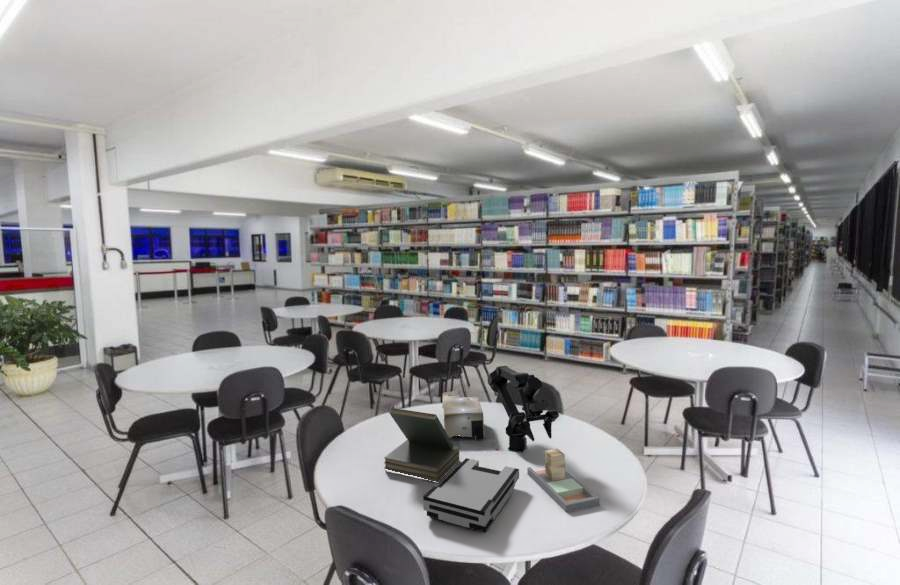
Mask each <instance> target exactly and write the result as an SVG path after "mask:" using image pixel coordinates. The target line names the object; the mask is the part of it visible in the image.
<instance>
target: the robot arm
mask: <svg viewBox="0 0 900 585" xmlns="http://www.w3.org/2000/svg"><path fill="white" fill-rule="evenodd" d="M508 381H509V382H510V385H511V386H512V388H514V389H519V390H518V392H517V395H516V397H517V398H519V399H520V403H521V406H522V407H521V410H522V411H521V412H520V411H519V410H518V407H517V405H516V403H515V401H514V400H513V397H512V395H511V393H510V391H509V390H508V383H509V382H508ZM487 384H488V386H489V387H490V389H491V391H493V392H495V393H497V395H498V397H499V399H500V402H501V404H502V406H503V408H504V410H505V413H506V414H507V416H508V417H507V418H508V422H507V426H506V427H505V434H506V435H507V436H508V439H509V440H508V444H509V445H508V447H507V450H508V451H512V452H517V453H523V452H525V450H526V449H527V447H528V445H527V443H528V440H527V438H526V436H527V437H528V438H529V439H530V440H531V442H535V436H534V433H533V431H532V429H531V424H530V423H532V422H536V421H537V422H538V421H543V423H542V425H543V428H544V430H545V433H546V435H547V437H548V439H550V440H551V439H552V425H553V423H554V422H555V421H556V420H558V418H559V416H560V413H559V411H558V410H557V409H551V410H547V409H548V408H550V402H549V400H548V398H546V399H541V401H539V400H536V397H535V396H536V395H537V394H539V392H540V389H542V387H543V382H542V380H540V379H539V378H538V377H536V376H535V374H529V373H527V372H517V371H515V370H514V369H512V368H510V367H509V366H508V365H500V366H497V367H495V369H494V370H493V371H492V372H490V373H489V375H488V377H487ZM523 411H524V412H523ZM544 411H546V412H545V413H544ZM543 413H544V414H543Z"/></svg>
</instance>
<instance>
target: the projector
mask: <svg viewBox="0 0 900 585" xmlns="http://www.w3.org/2000/svg"><path fill="white" fill-rule="evenodd" d="M441 396H442V400H441V401H442V409H443V424H444V425H443V428H444V429H445V431H446V433H447V435H448V436H449V438H450V439H451V438H454V436H455V435H457V436H455V437H458V435H460V436H459V437H461V438H465V437H468V438H470V437H471V439H472V437H473V438H475V439H476V440H475V441H481V440H484V439H485V438H486V437H485V426H484V424H485V422H484V420H485V418H484V411H483V409H482V405H481V403H480V399H479V397H478V396H465V397H464V396H463V397H461V394H460V391H459V390H452V391H446V392H442V395H441Z"/></svg>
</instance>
